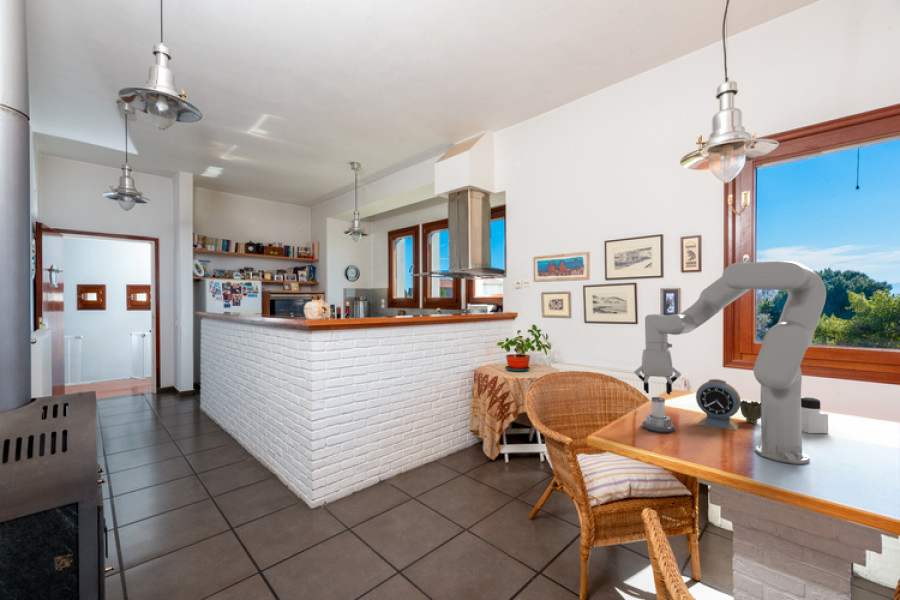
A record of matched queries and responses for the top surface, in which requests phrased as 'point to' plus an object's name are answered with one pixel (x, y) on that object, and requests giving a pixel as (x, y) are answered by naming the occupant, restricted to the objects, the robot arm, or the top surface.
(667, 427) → the ring
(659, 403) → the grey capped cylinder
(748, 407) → the cup
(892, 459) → the top surface
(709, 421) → the alarm clock
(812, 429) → the medicine bottle
